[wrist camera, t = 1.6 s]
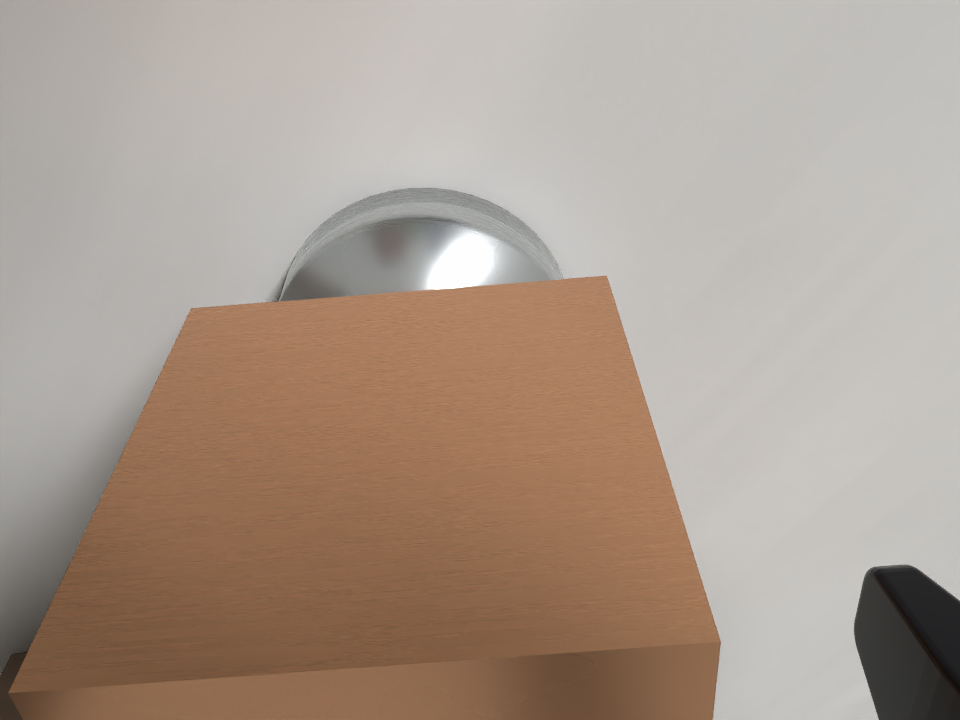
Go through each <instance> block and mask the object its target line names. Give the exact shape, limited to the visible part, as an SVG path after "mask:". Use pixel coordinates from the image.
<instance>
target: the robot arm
mask: <svg viewBox="0 0 960 720" xmlns="http://www.w3.org/2000/svg"><path fill="white" fill-rule="evenodd" d="M854 635H855V642H856V646H857V650H858V653H859V656H860V660H861V663H862V666H863V669H864V673H865V676H866V679H867V683H868V686H869V689H870V692H871V696H872V699H873V702H874V705H875V709H876V712H877V715H878V718H879V720H960V601H959V600H958V599H957V598H955V597H954V596H953V595H952V594H950V593H949V592H948V591H946V590H945V589H944V588H942V587H941V586H940V585H938V584H937V583H936V582H934V581H933V580H932V579H931V578H929V577H928V576H927V575H925V574H924V573H923V572H921V571H920V570H918V569H917V568H915V567H913V566H910V565H892V566H878V567H873V568H870V569H869V570H868V571H867V573H866V574H865V577H864V581H863V585H862V590H861V594H860V599H859V603H858V608H857V613H856V617H855V623H854Z"/></svg>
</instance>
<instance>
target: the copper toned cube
mask: <svg viewBox="0 0 960 720" xmlns="http://www.w3.org/2000/svg"><path fill="white" fill-rule="evenodd" d="M720 644H721V641H720V638H719V635H718V631H717V628H716V625H715V622H714V619H713V615H712V612H711V609H710V606H709V603H708V599H707V596H706V593H705V590H704V586H703V583H702V580H701V577H700V574H699V570H698V567H697V564H696V561H695V558H694V554H693V551H692V548H691V545H690V541H689V538H688V535H687V532H686V529H685V525H684V522H683V519H682V516H681V513H680V509H679V506H678V503H677V500H676V496H675V493H674V490H673V487H672V484H671V480H670V477H669V474H668V471H667V468H666V464H665V461H664V458H663V455H662V451H661V448H660V445H659V442H658V439H657V435H656V432H655V429H654V426H653V423H652V419H651V416H650V413H649V410H648V406H647V403H646V400H645V397H644V394H643V390H642V387H641V384H640V381H639V378H638V374H637V371H636V368H635V365H634V361H633V358H632V355H631V352H630V349H629V345H628V342H627V339H626V336H625V333H624V329H623V326H622V323H621V320H620V317H619V313H618V310H617V307H616V304H615V300H614V297H613V294H612V291H611V288H610V284H609V281H608V278H607V276H598V277H585V278H573V279H563V276H562V274H561V272H560V269H559V267H558V264H557V263H556V261H555V259H554V258H553V256H552V254H551V253H550V251H549V249H548V248H547V247H546V245H545V244H544V243H543V242H542V241H541V239H540V238H539V237H538V236H537V235H536V234H535V233H534V232H533V231H532V230H531V229H530V228H529V227H528V226H527V225H526V224H525V223H523V222H522V221H521V220H519V219H518V218H517V217H515V216H514V215H512V214H511V213H509V212H508V211H506V210H505V209H503V208H501V207H499V206H497V205H495V204H493V203H491V202H489V201H486V200H484V199H481V198H478V197H475V196H473V195H470V194H465V193H461V192H457V191H453V190H445V189H436V188H408V189H401V190H394V191H388V192H385V193H381V194H377V195H374V196H370V197H368V198H365V199H363V200H360V201H358V202H356V203H353V204H351V205H349V206H348V207H346V208H344V209H343V210H341V211H339V212H337V213H336V214H334V215H333V216H332V217H330V218H329V219H328V220H327V221H325V222H324V223H323V224H321V225H320V226H319V227H318V228H317V229H316V230H315V231H314V232H313V233H312V235H311V236H310V237H309V238H308V239H307V240H306V241H305V243H304V244H303V246H302V247H301V248H300V250H299V251H298V253H297V254H296V256H295V258H294V260H293V262H292V264H291V266H290V268H289V271H288V274H287V277H286V280H285V283H284V286H283V290H282V293H281V296H280V299H279V302H267V303H254V304H241V305H229V306H216V307H203V308H191V310H190V312H189V314H188V316H187V318H186V320H185V322H184V324H183V327H182V329H181V331H180V333H179V335H178V337H177V339H176V341H175V343H174V345H173V348H172V350H171V352H170V354H169V356H168V358H167V360H166V362H165V364H164V366H163V369H162V371H161V373H160V375H159V377H158V379H157V381H156V383H155V385H154V388H153V390H152V392H151V394H150V396H149V398H148V400H147V402H146V404H145V406H144V409H143V411H142V413H141V415H140V417H139V419H138V421H137V423H136V425H135V427H134V430H133V432H132V434H131V436H130V438H129V440H128V442H127V444H126V446H125V449H124V451H123V453H122V455H121V457H120V459H119V461H118V463H117V465H116V467H115V470H114V472H113V474H112V476H111V478H110V480H109V482H108V484H107V486H106V488H105V491H104V493H103V495H102V497H101V499H100V501H99V503H98V505H97V507H96V510H95V512H94V514H93V516H92V518H91V520H90V522H89V524H88V526H87V528H86V531H85V533H84V535H83V537H82V539H81V541H80V543H79V545H78V547H77V549H76V552H75V554H74V556H73V558H72V560H71V562H70V564H69V566H68V568H67V571H66V573H65V575H64V577H63V579H62V581H61V583H60V585H59V587H58V589H57V592H56V594H55V596H54V598H53V600H52V602H51V604H50V606H49V608H48V611H47V613H46V615H45V617H44V619H43V621H42V623H41V625H40V627H39V629H38V632H37V634H36V636H35V638H34V640H33V642H32V644H31V646H30V648H29V650H28V653H27V655H26V657H25V659H24V661H23V663H22V665H21V667H20V669H19V672H18V674H17V676H16V678H15V680H14V682H13V684H12V686H11V688H10V690H9V693H8V694H9V696H10V697H11V699H12V701H13V703H14V704H15V706H16V708H17V710H18V712H19V713H20V715H21V717H22V719H23V720H712V719H713V710H714V700H715V691H716V682H717V672H718V663H719V653H720Z"/></svg>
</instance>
